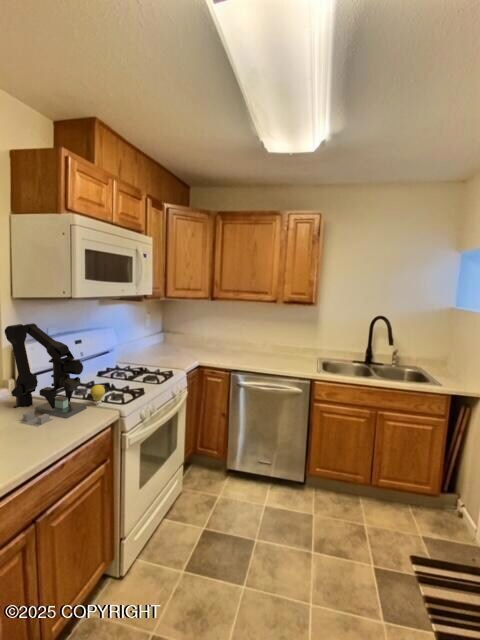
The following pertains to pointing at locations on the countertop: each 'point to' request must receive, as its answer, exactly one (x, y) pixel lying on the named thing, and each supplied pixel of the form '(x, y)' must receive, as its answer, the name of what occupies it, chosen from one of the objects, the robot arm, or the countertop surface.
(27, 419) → the holster
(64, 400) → the plug
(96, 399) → the light bulb
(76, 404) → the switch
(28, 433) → the countertop surface
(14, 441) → the countertop surface
